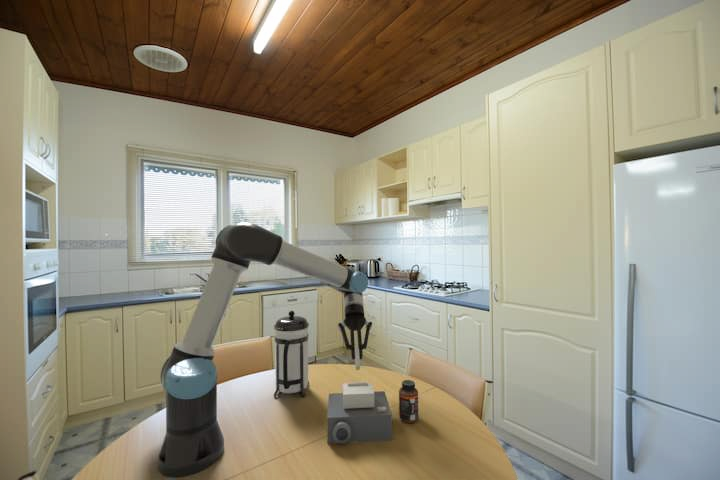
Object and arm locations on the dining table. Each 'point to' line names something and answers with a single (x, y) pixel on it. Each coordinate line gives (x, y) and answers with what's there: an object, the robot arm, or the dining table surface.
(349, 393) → the hatch door
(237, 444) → the dining table surface
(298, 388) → the coffee press
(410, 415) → the supplement bottle
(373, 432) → the gray box
